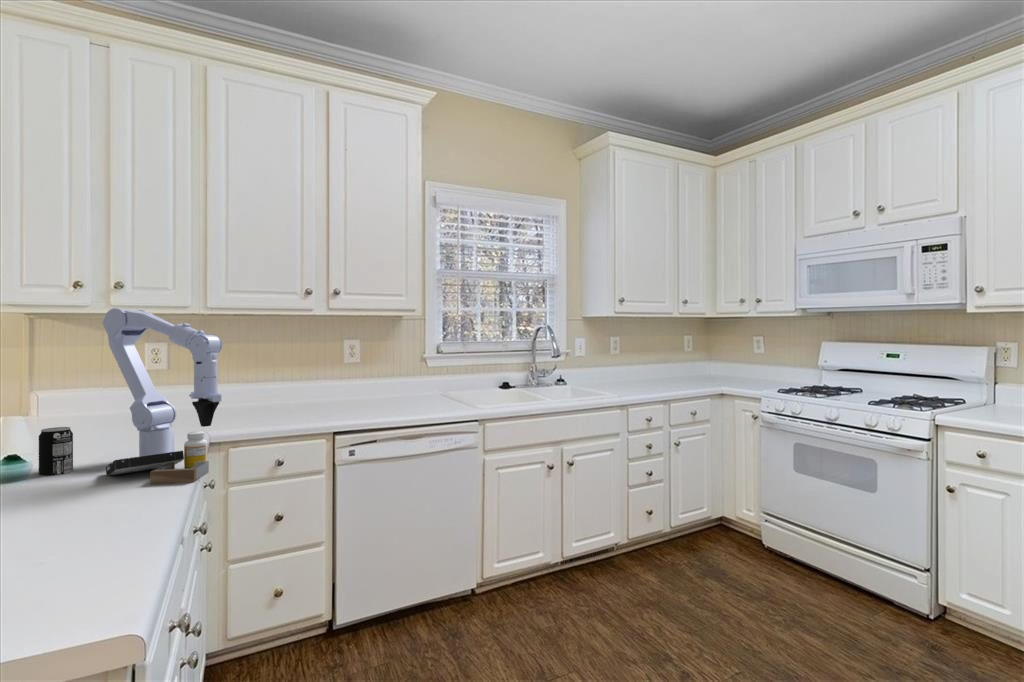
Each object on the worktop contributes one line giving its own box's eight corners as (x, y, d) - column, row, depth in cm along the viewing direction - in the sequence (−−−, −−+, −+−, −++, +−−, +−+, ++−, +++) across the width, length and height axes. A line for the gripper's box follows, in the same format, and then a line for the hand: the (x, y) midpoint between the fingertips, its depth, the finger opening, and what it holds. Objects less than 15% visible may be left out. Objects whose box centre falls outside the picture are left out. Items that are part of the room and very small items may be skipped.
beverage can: (45, 474, 136) (44, 427, 136) (76, 471, 138) (76, 426, 138) (33, 480, 130) (33, 431, 130) (67, 477, 132) (67, 429, 132)
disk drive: (115, 471, 127) (185, 460, 138) (114, 459, 127) (184, 449, 138) (105, 478, 133) (172, 466, 144) (104, 466, 134) (171, 456, 145)
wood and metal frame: (168, 474, 135) (168, 462, 135) (208, 472, 137) (208, 460, 137) (150, 484, 126) (150, 471, 126) (194, 482, 128) (194, 469, 128)
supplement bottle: (191, 466, 144) (190, 431, 144) (211, 466, 144) (211, 430, 144) (180, 471, 138) (179, 434, 138) (201, 471, 139) (201, 434, 139)
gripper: (179, 377, 149) (179, 425, 149) (201, 379, 140) (201, 430, 140) (205, 375, 155) (205, 422, 155) (229, 377, 146) (229, 427, 146)
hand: (205, 426), depth 148 cm, fingers closed
